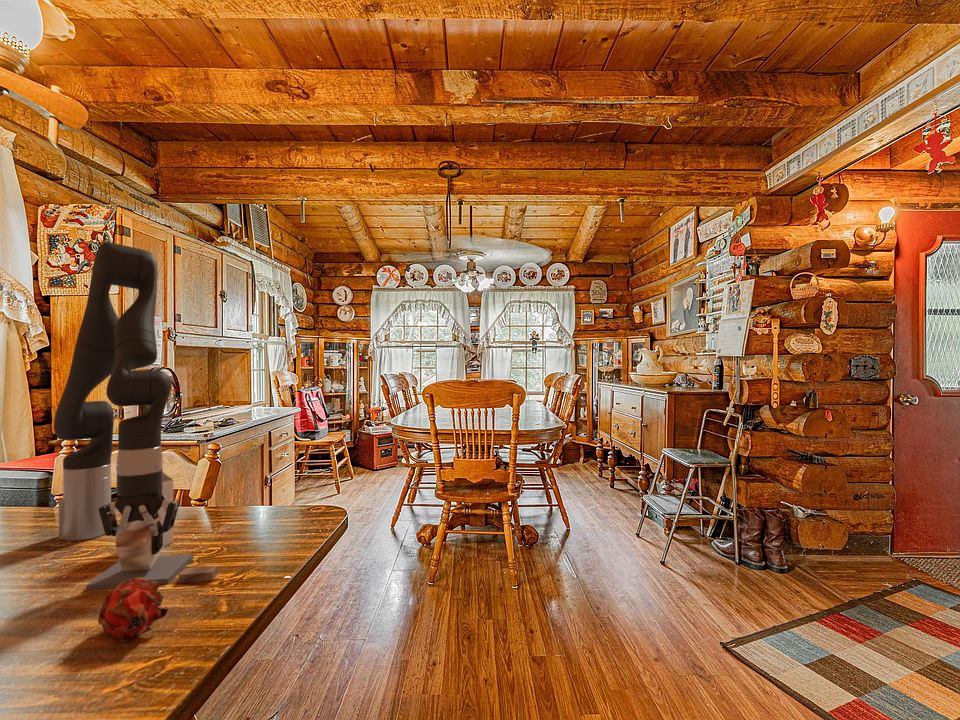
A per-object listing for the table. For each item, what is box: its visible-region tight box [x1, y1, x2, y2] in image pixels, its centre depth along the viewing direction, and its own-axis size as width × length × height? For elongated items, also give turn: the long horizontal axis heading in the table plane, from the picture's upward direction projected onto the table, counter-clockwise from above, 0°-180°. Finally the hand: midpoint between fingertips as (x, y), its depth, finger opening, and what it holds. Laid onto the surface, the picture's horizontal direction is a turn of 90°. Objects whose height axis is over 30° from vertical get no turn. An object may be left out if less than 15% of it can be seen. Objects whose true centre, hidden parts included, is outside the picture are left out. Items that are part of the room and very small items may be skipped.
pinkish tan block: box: [114, 521, 165, 571], centre depth 95 cm, size 5×8×9 cm, turn 11°
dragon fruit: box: [97, 577, 169, 643], centre depth 76 cm, size 8×8×12 cm
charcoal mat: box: [85, 553, 194, 591], centre depth 97 cm, size 14×12×1 cm
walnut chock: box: [178, 565, 219, 584], centre depth 94 cm, size 6×3×2 cm, turn 101°
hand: (140, 553), depth 95 cm, fingers closed on pinkish tan block, 5 cm apart
